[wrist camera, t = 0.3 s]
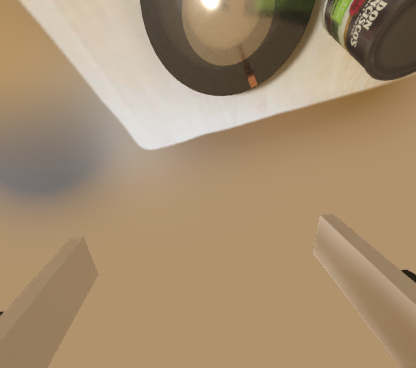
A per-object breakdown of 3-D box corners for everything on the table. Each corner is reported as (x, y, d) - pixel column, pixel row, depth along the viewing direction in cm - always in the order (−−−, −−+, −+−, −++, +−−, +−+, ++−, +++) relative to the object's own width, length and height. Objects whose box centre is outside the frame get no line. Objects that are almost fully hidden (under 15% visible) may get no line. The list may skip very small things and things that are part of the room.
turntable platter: (99, -31, 25) (94, -28, 23) (299, -253, 16) (308, -266, 14) (199, 111, 42) (199, 117, 41) (321, 46, 33) (326, 51, 32)
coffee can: (307, 30, 33) (346, 72, 25) (359, -69, 24) (441, -53, 16) (358, 44, 35) (409, 87, 27) (421, -42, 27) (521, -17, 19)
